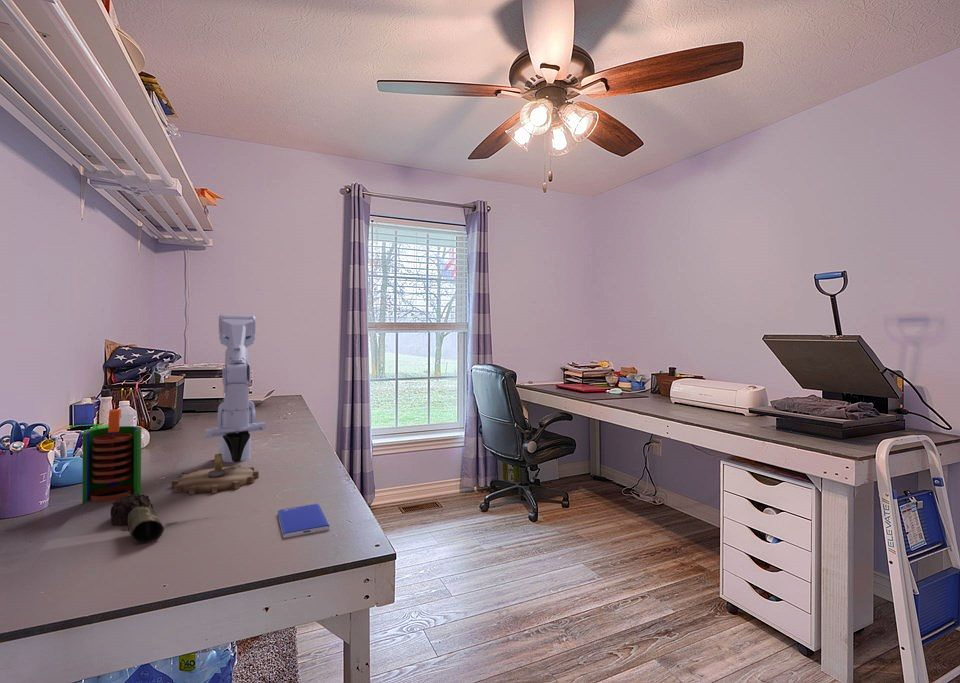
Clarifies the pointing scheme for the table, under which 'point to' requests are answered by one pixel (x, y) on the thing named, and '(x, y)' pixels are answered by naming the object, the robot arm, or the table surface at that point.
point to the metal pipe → (137, 518)
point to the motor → (111, 460)
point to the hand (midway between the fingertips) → (236, 461)
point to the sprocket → (215, 478)
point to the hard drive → (302, 520)
